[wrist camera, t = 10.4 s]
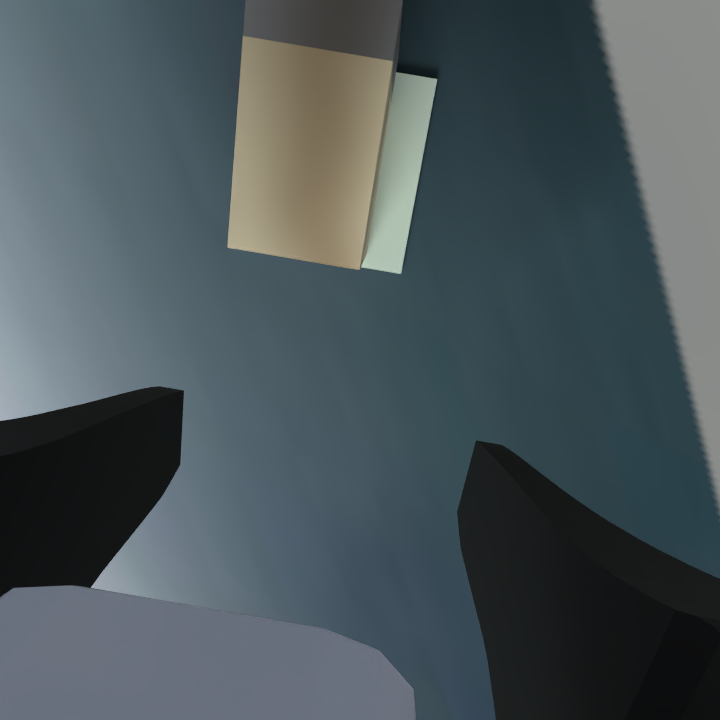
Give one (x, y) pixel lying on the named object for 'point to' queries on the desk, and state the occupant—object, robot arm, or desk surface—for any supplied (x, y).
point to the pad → (399, 171)
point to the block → (312, 126)
